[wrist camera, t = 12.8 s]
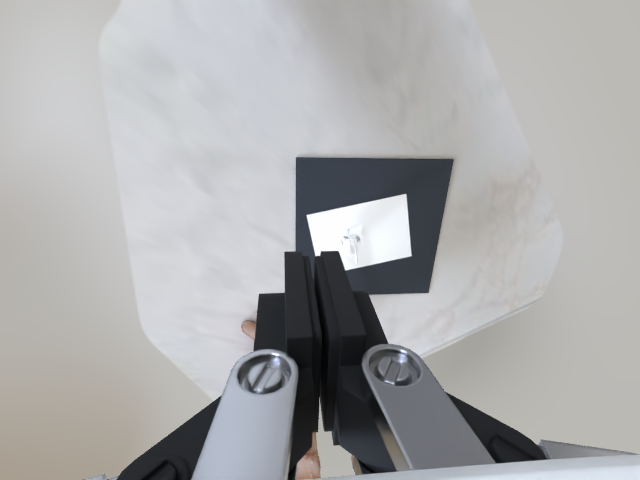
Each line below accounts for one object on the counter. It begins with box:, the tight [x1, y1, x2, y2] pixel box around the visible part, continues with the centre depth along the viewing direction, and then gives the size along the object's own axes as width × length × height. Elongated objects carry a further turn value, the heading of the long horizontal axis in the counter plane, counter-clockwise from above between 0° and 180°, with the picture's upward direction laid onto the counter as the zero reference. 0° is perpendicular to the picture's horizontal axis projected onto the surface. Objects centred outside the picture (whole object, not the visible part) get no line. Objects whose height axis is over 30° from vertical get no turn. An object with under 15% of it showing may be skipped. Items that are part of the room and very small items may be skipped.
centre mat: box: [296, 158, 453, 294], centre depth 36 cm, size 15×15×1 cm
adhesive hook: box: [339, 223, 364, 264], centre depth 35 cm, size 3×3×3 cm
